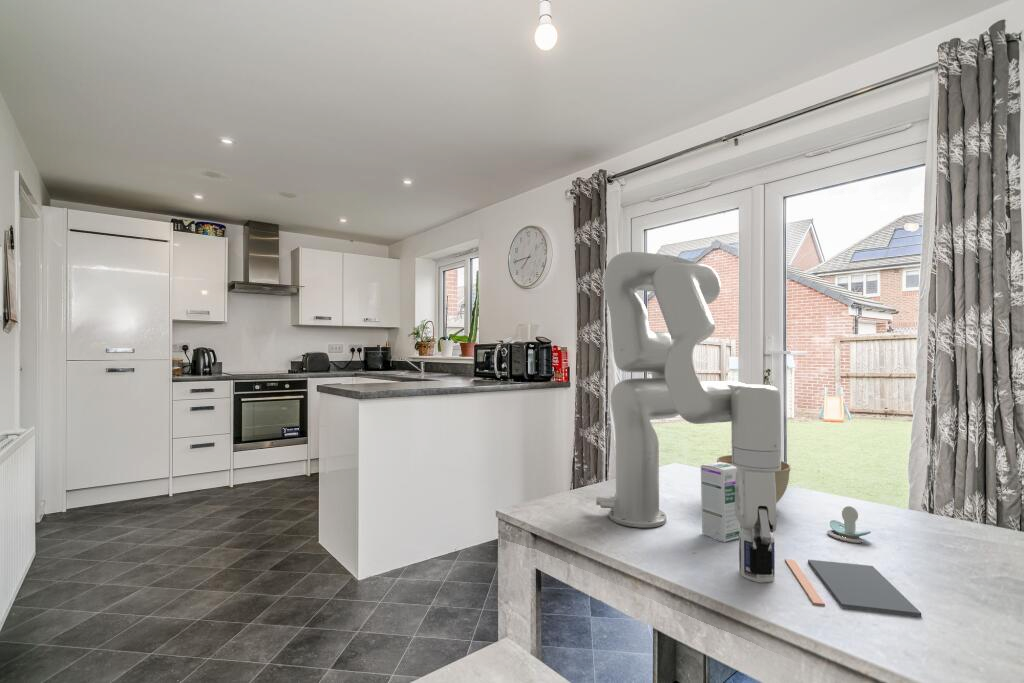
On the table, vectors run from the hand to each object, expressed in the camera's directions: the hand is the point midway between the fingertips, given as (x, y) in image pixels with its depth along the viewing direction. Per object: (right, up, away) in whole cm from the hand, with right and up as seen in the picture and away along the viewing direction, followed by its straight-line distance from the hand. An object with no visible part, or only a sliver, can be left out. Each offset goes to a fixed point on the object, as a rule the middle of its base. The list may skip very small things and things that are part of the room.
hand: (756, 564), depth 84 cm
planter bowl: (+17, -3, +37) cm, 41 cm away
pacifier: (+27, -3, +17) cm, 32 cm away
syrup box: (+2, -2, +18) cm, 18 cm away
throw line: (+7, -2, -2) cm, 7 cm away
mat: (+14, -2, -4) cm, 15 cm away
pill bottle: (0, -2, 0) cm, 2 cm away
